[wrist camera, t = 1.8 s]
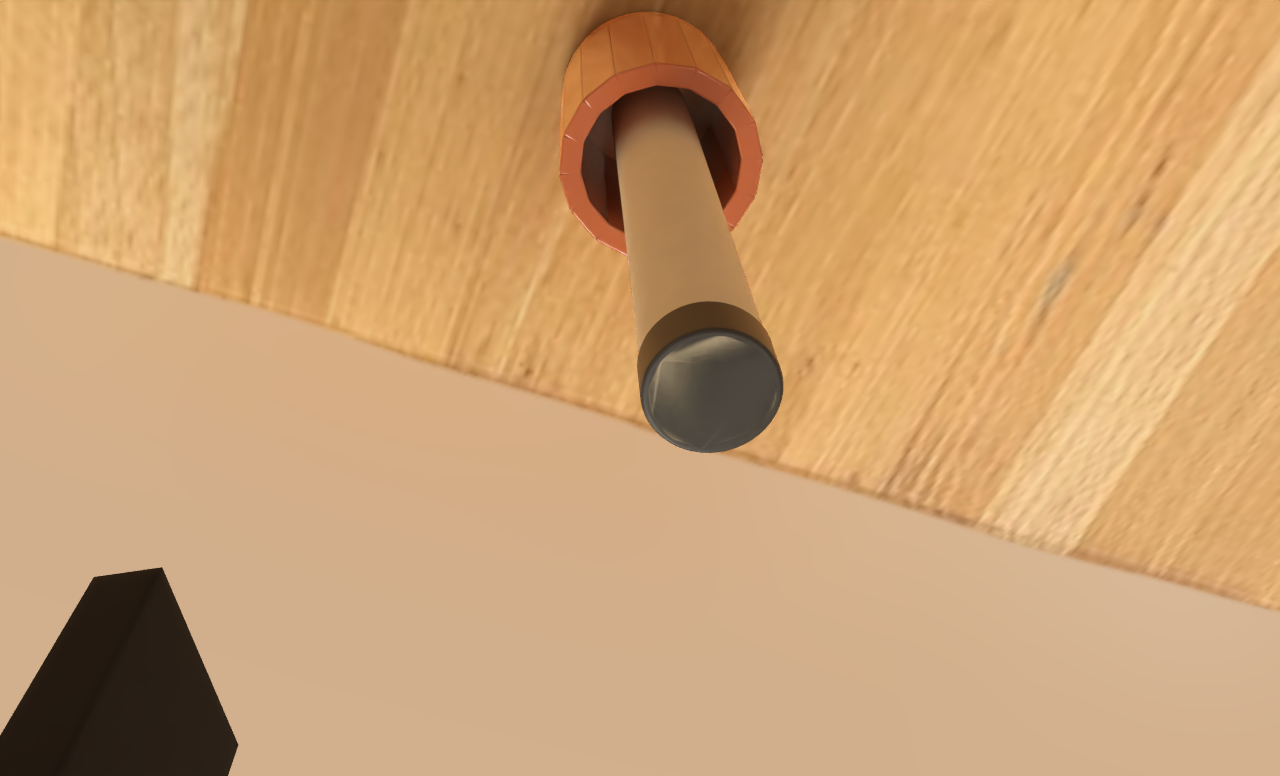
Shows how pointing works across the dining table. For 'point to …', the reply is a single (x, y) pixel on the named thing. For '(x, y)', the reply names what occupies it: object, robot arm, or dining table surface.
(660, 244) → the marker
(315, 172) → the dining table surface
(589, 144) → the pen pot
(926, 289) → the dining table surface
